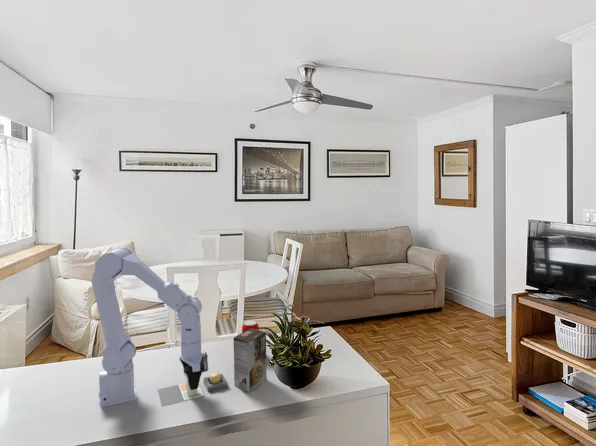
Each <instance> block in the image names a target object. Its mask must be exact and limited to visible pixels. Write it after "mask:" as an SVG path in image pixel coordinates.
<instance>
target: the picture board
mask: <svg viewBox="0 0 596 446" xmlns="http://www.w3.org/2000/svg"><path fill="white" fill-rule="evenodd" d="M197 391H198V394H197V395H195V396H188V395H187V384H186V382H185V383H180V384H176V385H172V386H171V385H170V386H167V387H162V388H158V389H157V392H158V397H159V401H160V406H161V407H165V406H170V405H174V404H179V403H183V402H187V401H191V400H195V399H199V398H203V397H205V394H204V393H203V392H204V391H203V390H202V388H201V385H200V384H199V386H198V389H197Z"/></svg>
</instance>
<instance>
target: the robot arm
mask: <svg viewBox="0 0 596 446" xmlns="http://www.w3.org/2000/svg"><path fill="white" fill-rule="evenodd" d="M94 265H95V268H94V271H93V274H92V277H91V286H92V289H93V295H94V298H95V303H96V307H97V310H98V317H99V319H100V324H101V328H102V332H103V335H104V344H103V348H102V351H101V352H102V359H101V360H102V361H101V366H102V368H103V370H101V371H99V373H98V385H99V391H98V398H99V403H100V406H99V407H100V408H104V407H108V406H113V405H114V406H115V405H118V404H122V403H125V402H131V401H135V400H137V399H138V396H137V388H136V386H135V374H134V373H135V371H134V370H135V369H134V368H135V367H134V362H133V358H134V357H135V356H136V353H137V348H136V345H135V344H134V343H133V341H132V339H131V336H130V335H129V334H127V333H126V331H125V327H124V323H123V318H122V314H121V310H120V305H119V301H118V297H117V293H116V292H117V291H116V288H115V284H114V282H115V281H116V279H117V278H118V277H119V275H120V276H134V277H136V278H138V279H139V280H140V281H141V282H143V283H145V284H146V285H148V286H149V287H150V288H151V289H152V290H154V291H156V293H157V297H158V298H157V299H159V300H160V301H161V302H162V303H164V304H165V305H166V306H167V307H169V308H170V309H171V310H173V311H174V312H175V313H177V314H176V315H177V319H178V320H179V321H180V357H179V362H181V364H182V366H183V373H184V372H185V373H186V374H187V377H188V382H189V387H190V390H194V389H198V386H199V385H200V381H201V377H202V375H203V373H204V372H203V370H204V365H200V361H201V358H202V356H205V352H206V351H205V350H202V329H201V328H202V325H201V315H200V314H201V312H202V309H203V305H202V302H201V300H200V299H199V298H198V297H196V296H192V295H191V294H187V293H186V292H185V291H184V290H183V289H181V288H180V284H178V283H177V282H176V283H174V282H171V281H170V282H169V281H168V282H166V281H165V280H164V279H162V278H161V277H160V276H159V275H158V274H157V273H156V272H155V271H153V270H152V269H151V267H149V266H148V265H147V264H146V263H145V262H144V261H142V260H141V258H140V257H139V256H138V254H136V253H134V252H132V251H131V250H130V249H129V248H127V247H123V246H121V247H117V248H115V249H114V250H111V251H109V252H105V253H103V254H102V255H100V256H99V258H98V259H97V260H96V261H95V262H94ZM188 365H190V366H188ZM186 366H187V367H186ZM185 373H184V375H185V377H186V374H185Z"/></svg>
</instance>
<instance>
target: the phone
mask: <svg viewBox="0 0 596 446" xmlns="http://www.w3.org/2000/svg"><path fill="white" fill-rule="evenodd" d="M200 365H204V370H203V372H202V373H204V372H207V371H208V370H209V368H208V355H207V352H206V351H205V356H202V358H201V361H200ZM183 374H185V372H184V371H183Z"/></svg>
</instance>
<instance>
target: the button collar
mask: <svg viewBox="0 0 596 446" xmlns="http://www.w3.org/2000/svg"><path fill="white" fill-rule="evenodd" d="M220 379H221V382H220V383H216V384H210V376H206V377H203V385H204V386H205V389H206V391H207V393H208V392H213V391H217V390H222V389H226V388H228V381H227V379H226V378H225V377H224V374H223V373H220Z"/></svg>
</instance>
